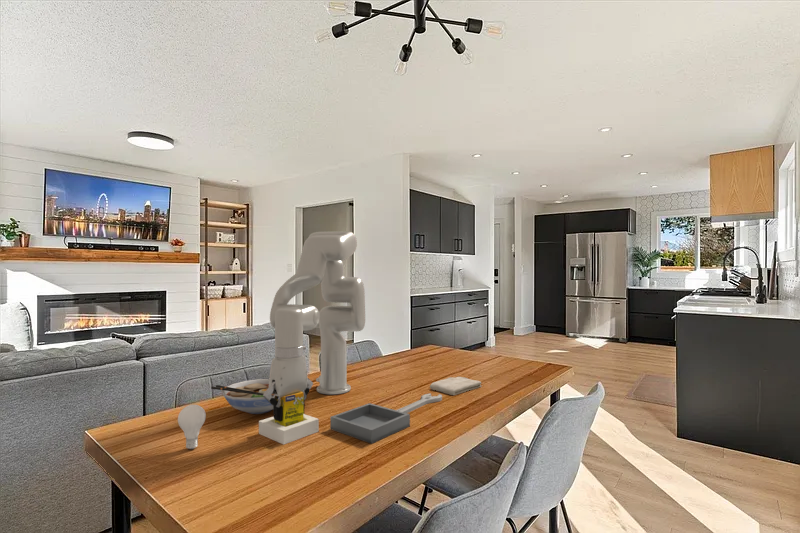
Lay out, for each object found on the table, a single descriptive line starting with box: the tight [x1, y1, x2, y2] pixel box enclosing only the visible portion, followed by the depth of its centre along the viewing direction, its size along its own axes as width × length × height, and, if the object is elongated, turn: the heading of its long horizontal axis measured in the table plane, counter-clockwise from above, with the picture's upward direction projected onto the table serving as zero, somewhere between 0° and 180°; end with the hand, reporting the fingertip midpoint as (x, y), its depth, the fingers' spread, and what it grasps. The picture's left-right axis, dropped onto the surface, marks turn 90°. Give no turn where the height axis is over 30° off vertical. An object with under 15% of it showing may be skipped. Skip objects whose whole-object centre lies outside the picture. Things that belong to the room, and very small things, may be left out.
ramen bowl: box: [210, 378, 274, 415], centre depth 137 cm, size 25×23×8 cm
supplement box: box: [275, 391, 305, 427], centre depth 118 cm, size 6×6×11 cm
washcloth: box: [429, 376, 482, 396], centre depth 162 cm, size 12×18×3 cm, turn 134°
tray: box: [330, 402, 411, 445], centre depth 121 cm, size 16×16×4 cm
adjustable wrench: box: [396, 392, 443, 414], centre depth 141 cm, size 25×6×2 cm, turn 139°
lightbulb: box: [177, 404, 207, 450], centre depth 107 cm, size 6×6×11 cm
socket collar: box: [258, 413, 320, 445], centre depth 118 cm, size 12×12×4 cm
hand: (289, 416), depth 118 cm, fingers closed on supplement box, 6 cm apart
